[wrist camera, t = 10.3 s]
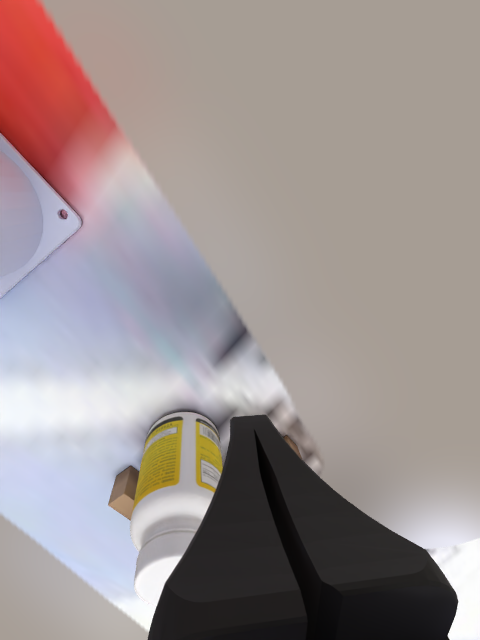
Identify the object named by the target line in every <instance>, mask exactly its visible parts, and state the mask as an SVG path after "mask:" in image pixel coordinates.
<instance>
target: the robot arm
mask: <svg viewBox="0 0 480 640" xmlns="http://www.w3.org/2000/svg"><path fill="white" fill-rule="evenodd" d="M62 209H63V210H65V211H66V212H67V213H68V217H67V219H64V218H62V217H61V215H60V212H61V210H62ZM81 224H82V222H81V218H80V217H79V216H78V214H77V213H76V212H75V211H74V210H73V209H72V208H71V207H70V206H69V205H68V204H67V203H66V202H65V201H64V200H63V199H62V197H61V196H60V195H59V194H58V193H57V192H56V191H55V190H54V189H53V188H52V187H51V186H50V185H49V184H48V183H47V182H46V180H45V179H44V178H43V177H42V176H41V175H40V174H39V173H38V172H37V171H36V170H35V169H34V168H33V167H32V166H31V165H30V163H29V162H28V161H27V160H26V159H25V158H24V157H23V156H22V155H21V154H20V153H19V152H18V151H17V150H16V149H15V148H14V146H13V145H12V144H11V143H10V142H9V141H8V140H7V139H6V138H5V137H4V136H3V135H2V134H1V133H0V298H1V297H3V296H4V295H5V294H6V293H7V292H8V291H9V290H10V289H12V288H13V287H14V286H15V285H16V284H17V283H18V282H20V281H21V280H22V279H23V278H24V277H25V276H26V275H27V274H29V273H30V272H31V271H32V270H33V269H34V268H35V267H37V266H38V265H39V264H40V263H41V262H42V261H43V260H45V259H46V258H47V257H48V256H49V255H50V254H51V253H52V252H54V251H55V250H56V249H57V248H58V247H59V246H60V245H62V244H63V243H64V242H65V241H66V240H67V239H68V238H69V237H71V236H72V235H73V234H74V233H75V232H76V231H77V230H79V229H80V227H81ZM457 605H458V599H457V595H456V592H455V591H454V589H453V588H452V586H451V585H450V583H449V581H448V580H447V578H446V577H445V575H444V574H443V572H442V571H441V569H440V568H439V566H438V565H437V564H436V563H435V561H434V560H433V559H432V558H431V556H430V555H429V553H428V552H427V551H426V550H425V549H423V548H422V547H420V546H418V545H416V544H414V543H413V542H411V541H409V540H407V539H405V538H403V537H402V536H400V535H398V534H396V533H395V532H393V531H391V530H389V529H388V528H386V527H385V526H383V525H382V524H380V523H378V522H377V521H375V520H374V519H372V518H371V517H369V516H368V515H366V514H365V513H363V512H362V511H361V510H359V509H358V508H357V507H355V506H354V505H353V504H351V503H350V502H348V501H347V500H346V499H344V498H343V497H342V496H341V495H339V494H338V493H337V492H336V491H334V490H333V489H332V488H331V487H330V486H329V485H328V484H326V483H325V482H324V481H323V480H322V479H321V478H320V477H319V476H318V475H317V474H316V473H315V472H314V471H313V470H312V469H311V468H310V467H309V466H308V465H307V464H306V463H305V462H304V461H303V460H302V459H301V458H300V457H299V456H298V455H297V453H296V452H295V451H294V450H293V449H292V448H291V446H290V445H289V444H288V443H287V442H286V441H285V439H284V438H283V437H282V435H281V434H280V433H279V432H278V430H277V429H276V428H275V426H274V425H273V424H272V422H271V421H270V419H269V418H268V417H267V416H266V415H254V416H241V417H233V418H232V419H231V420H230V442H229V447H228V451H227V456H226V460H225V463H224V467H223V470H222V473H221V476H220V479H219V482H218V485H217V488H216V490H215V493H214V495H213V498H212V500H211V503H210V505H209V507H208V509H207V511H206V514H205V516H204V518H203V520H202V522H201V524H200V526H199V528H198V530H197V531H196V533H195V535H194V537H193V539H192V540H191V542H190V544H189V546H188V548H187V549H186V551H185V553H184V554H183V556H182V558H181V559H180V561H179V562H178V564H177V565H176V567H175V568H174V570H173V571H172V573H171V575H170V576H169V578H168V579H167V581H166V582H165V584H164V587H163V590H162V593H161V595H160V598H159V601H158V604H157V607H156V610H155V613H154V616H153V620H152V623H151V627H150V631H149V636H148V640H449V638H448V633H449V630H450V628H451V625H452V623H453V620H454V617H455V615H456V610H457Z"/></svg>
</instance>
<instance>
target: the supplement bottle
mask: <svg viewBox="0 0 480 640" xmlns="http://www.w3.org/2000/svg"><path fill="white" fill-rule="evenodd" d="M222 470H223V468H222V457H221V447H220V439H219V434H218V431H217V429H216V427H215V426H214V424H213V423H212V422H211V421H210V420H209V419H207V418H206V417H204V416H202V415H199V414H196V413H192V412H178V413H173V414H170V415H167V416H165V417H163V418H161V419H160V420H158V421H157V422H156V423H155V424H154V425H153V426H152V428H151V429H150V431H149V433H148V435H147V438H146V442H145V447H144V452H143V457H142V462H141V467H140V472H139V478H138V483H137V488H136V494H135V500H134V505H133V511H132V516H131V523H130V534H131V539H132V542H133V544H134V546H135V547H136V549H137V550H138V551H139V555H138V558H137V563H136V572H135V579H134V588H135V592H136V594H137V595H138V597H139V598H140V599H141V600H142V601H144V602H146V603H147V604H150V605H152V606H156V607H157V604H158V601H159V598H160V595H161V593H162V590H163V587H164V584H165V582H166V581H167V579H168V578H169V576H170V575H171V573H172V571H173V570H174V568H175V567H176V565H177V564H178V562H179V561H180V559H181V558H182V556H183V554H184V553H185V551H186V549H187V548H188V546H189V544H190V542H191V540H192V539H193V537H194V535H195V533H196V531H197V530H198V528H199V526H200V524H201V522H202V520H203V518H204V516H205V514H206V511H207V509H208V507H209V505H210V503H211V500H212V498H213V495H214V493H215V490H216V488H217V485H218V482H219V479H220V476H221V473H222Z"/></svg>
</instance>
